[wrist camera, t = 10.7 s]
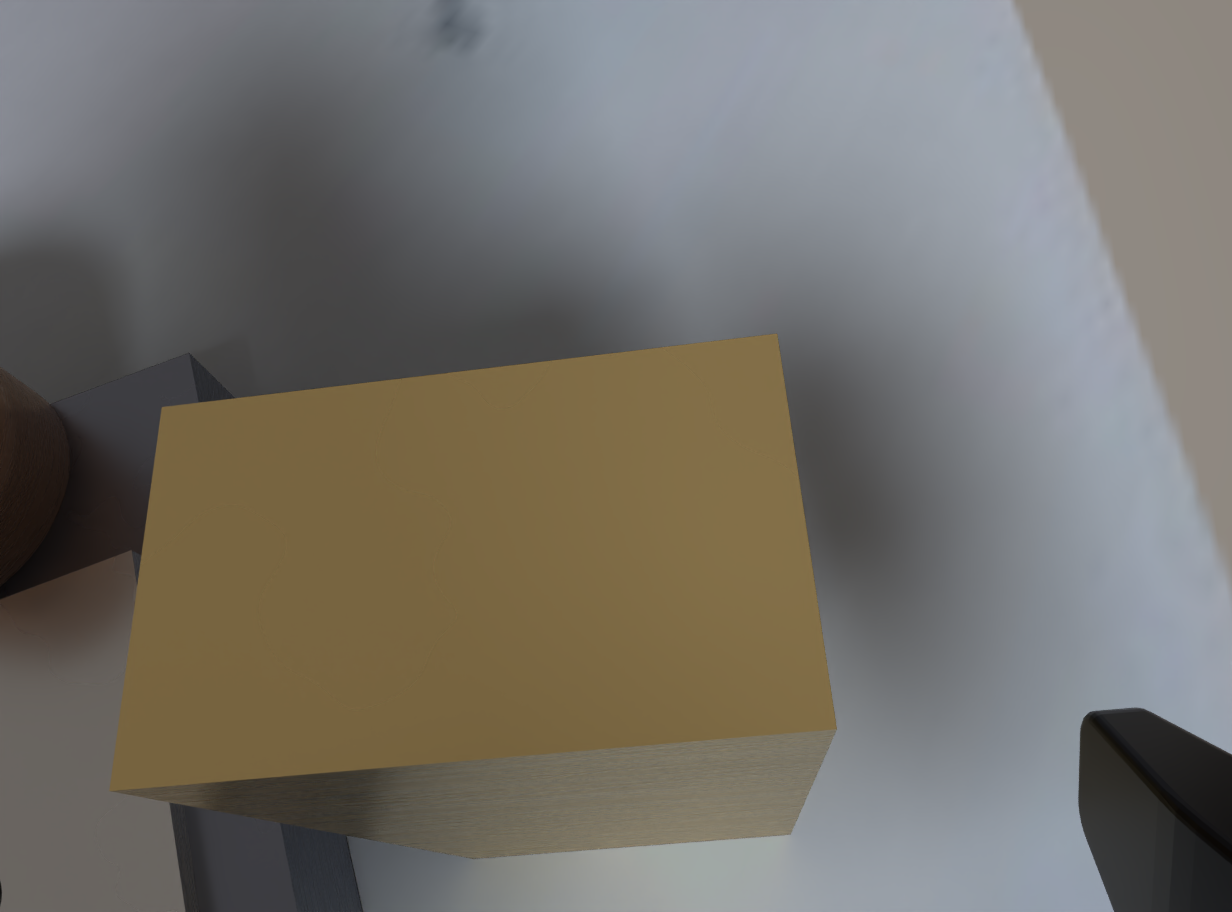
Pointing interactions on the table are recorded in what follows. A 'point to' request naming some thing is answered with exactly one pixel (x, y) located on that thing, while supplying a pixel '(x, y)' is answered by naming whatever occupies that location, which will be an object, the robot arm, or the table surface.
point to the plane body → (109, 679)
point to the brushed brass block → (486, 607)
